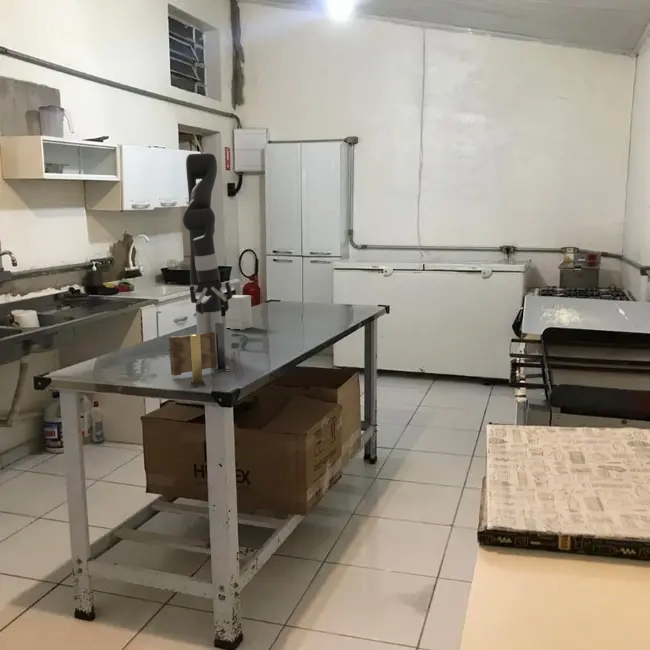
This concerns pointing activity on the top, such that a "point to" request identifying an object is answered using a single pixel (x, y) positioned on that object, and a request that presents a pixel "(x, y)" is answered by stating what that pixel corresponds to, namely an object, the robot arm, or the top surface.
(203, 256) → the robot arm
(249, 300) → the supplement box
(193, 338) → the post
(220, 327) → the hinge post
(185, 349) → the gate
